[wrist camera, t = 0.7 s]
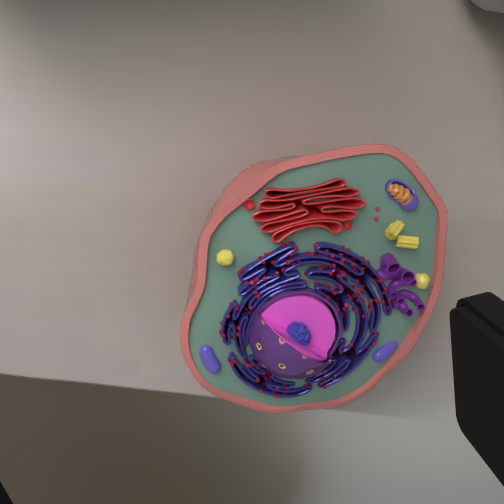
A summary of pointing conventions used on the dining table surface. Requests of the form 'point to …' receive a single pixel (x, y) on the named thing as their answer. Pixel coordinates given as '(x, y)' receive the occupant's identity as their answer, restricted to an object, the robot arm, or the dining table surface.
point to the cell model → (313, 278)
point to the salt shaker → (490, 5)
